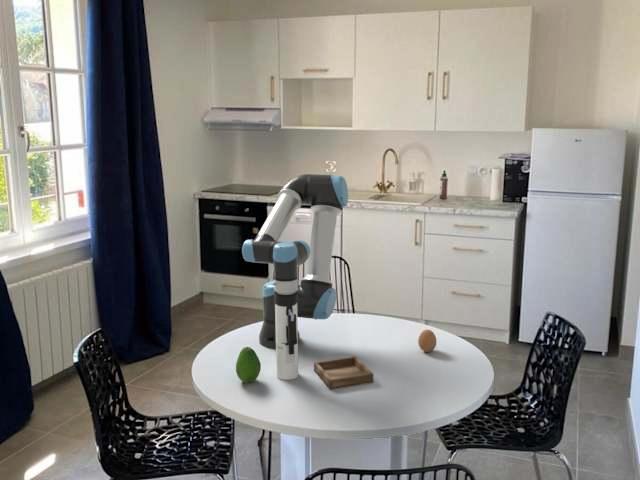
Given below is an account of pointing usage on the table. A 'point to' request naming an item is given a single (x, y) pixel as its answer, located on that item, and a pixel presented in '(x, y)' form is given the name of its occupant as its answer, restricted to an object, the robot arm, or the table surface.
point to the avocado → (248, 365)
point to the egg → (427, 340)
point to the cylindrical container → (281, 322)
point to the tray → (343, 372)
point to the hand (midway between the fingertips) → (287, 357)
